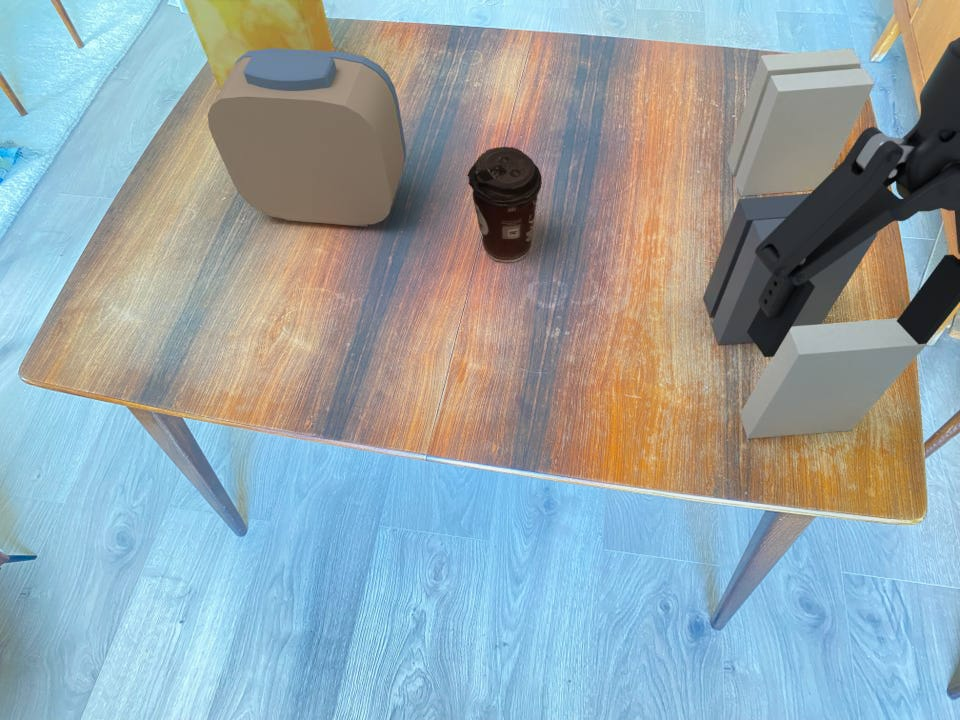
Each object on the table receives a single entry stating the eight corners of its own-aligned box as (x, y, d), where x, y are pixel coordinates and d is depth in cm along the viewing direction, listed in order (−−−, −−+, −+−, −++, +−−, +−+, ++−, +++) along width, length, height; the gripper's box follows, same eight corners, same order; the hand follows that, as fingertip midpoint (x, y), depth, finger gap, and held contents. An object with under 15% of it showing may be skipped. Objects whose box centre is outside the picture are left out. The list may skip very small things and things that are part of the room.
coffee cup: (467, 265, 87) (459, 188, 76) (478, 218, 91) (472, 138, 81) (535, 272, 86) (537, 194, 75) (543, 224, 90) (546, 144, 80)
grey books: (813, 337, 79) (878, 233, 64) (717, 345, 79) (761, 243, 64) (794, 290, 83) (851, 182, 68) (703, 297, 83) (741, 191, 68)
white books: (822, 189, 91) (874, 83, 78) (740, 196, 92) (778, 91, 78) (805, 154, 95) (852, 47, 82) (726, 161, 95) (760, 55, 82)
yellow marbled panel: (350, 59, 113) (314, -104, 93) (327, 106, 106) (283, -58, 86) (251, 52, 115) (195, -108, 95) (222, 97, 109) (156, -64, 89)
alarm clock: (413, 185, 96) (389, 39, 78) (399, 235, 90) (369, 91, 72) (273, 175, 98) (218, 31, 80) (251, 223, 93) (187, 81, 75)
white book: (851, 430, 72) (927, 344, 59) (747, 439, 72) (799, 354, 59) (841, 406, 74) (913, 316, 60) (739, 414, 74) (788, 326, 60)
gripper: (1137, 36, 43) (937, 297, 58) (793, 18, 37) (669, 314, 52) (1255, 90, 38) (1003, 360, 53) (879, 79, 32) (714, 387, 47)
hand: (837, 338), depth 52 cm, fingers open, 13 cm apart
